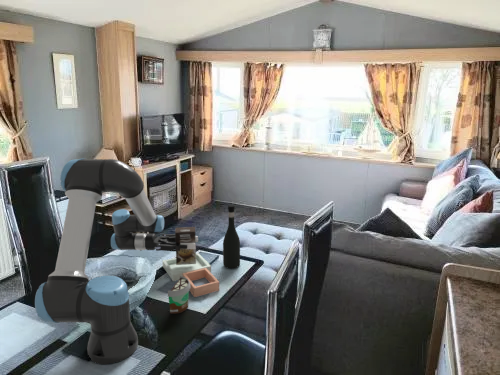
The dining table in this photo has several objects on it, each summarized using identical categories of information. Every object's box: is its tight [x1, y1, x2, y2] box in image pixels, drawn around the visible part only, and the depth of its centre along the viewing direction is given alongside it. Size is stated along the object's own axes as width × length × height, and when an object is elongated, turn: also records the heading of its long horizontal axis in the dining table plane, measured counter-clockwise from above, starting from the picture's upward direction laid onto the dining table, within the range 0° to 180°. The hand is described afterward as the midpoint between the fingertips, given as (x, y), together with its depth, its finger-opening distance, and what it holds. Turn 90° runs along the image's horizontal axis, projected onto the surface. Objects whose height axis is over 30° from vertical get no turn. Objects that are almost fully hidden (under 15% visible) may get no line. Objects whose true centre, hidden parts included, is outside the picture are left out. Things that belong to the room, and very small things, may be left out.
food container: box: [167, 276, 191, 315], centre depth 137 cm, size 12×6×10 cm, turn 168°
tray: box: [162, 252, 212, 282], centre depth 168 cm, size 18×16×3 cm
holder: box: [183, 268, 220, 298], centre depth 153 cm, size 11×14×4 cm
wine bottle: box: [222, 204, 241, 270], centre depth 168 cm, size 8×8×30 cm
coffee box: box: [174, 226, 197, 265], centre depth 165 cm, size 9×6×16 cm
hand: (196, 242), depth 165 cm, fingers closed on coffee box, 7 cm apart
